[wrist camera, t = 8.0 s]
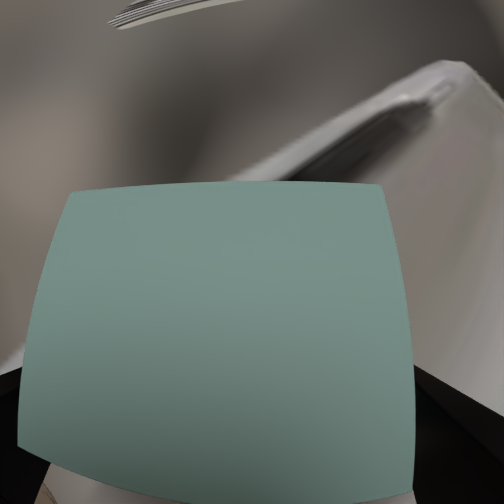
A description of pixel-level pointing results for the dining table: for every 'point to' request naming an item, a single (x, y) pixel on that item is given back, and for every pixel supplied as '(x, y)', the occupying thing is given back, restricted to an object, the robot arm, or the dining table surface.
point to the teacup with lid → (44, 496)
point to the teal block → (224, 344)
